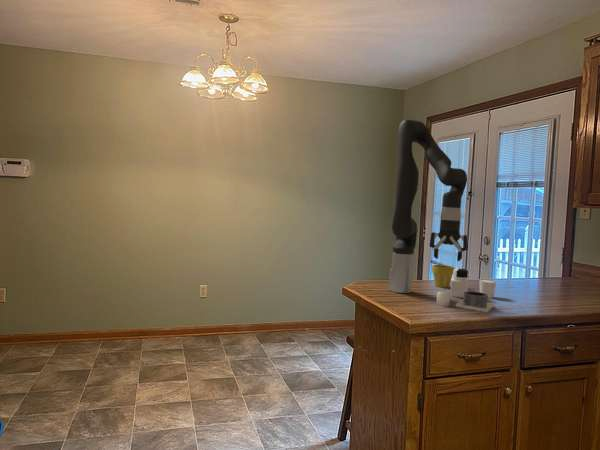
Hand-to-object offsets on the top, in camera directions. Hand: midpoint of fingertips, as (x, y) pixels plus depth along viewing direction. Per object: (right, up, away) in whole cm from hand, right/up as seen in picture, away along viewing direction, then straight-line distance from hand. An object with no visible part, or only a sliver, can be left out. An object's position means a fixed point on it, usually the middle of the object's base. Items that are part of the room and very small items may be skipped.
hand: (447, 259), depth 181 cm
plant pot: (+10, -16, +40) cm, 44 cm away
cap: (-2, -18, +1) cm, 18 cm away
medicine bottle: (+11, -18, +19) cm, 28 cm away
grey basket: (+11, -19, 0) cm, 22 cm away
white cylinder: (+24, -18, +21) cm, 36 cm away
